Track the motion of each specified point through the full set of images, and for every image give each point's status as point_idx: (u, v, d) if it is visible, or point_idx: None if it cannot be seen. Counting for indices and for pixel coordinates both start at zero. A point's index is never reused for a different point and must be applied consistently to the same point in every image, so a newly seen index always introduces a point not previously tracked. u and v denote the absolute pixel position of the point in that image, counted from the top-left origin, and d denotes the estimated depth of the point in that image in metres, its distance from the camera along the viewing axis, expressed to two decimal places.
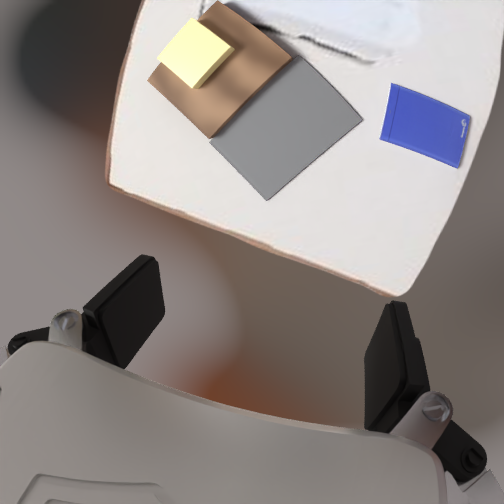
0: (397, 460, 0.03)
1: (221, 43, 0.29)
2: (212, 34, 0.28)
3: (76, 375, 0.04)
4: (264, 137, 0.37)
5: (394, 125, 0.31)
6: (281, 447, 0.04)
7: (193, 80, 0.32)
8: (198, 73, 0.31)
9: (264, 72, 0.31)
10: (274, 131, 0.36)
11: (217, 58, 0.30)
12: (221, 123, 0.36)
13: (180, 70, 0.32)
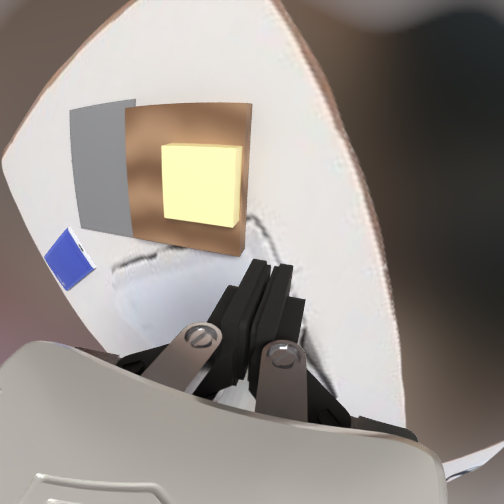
0: (397, 460, 0.03)
1: (174, 215, 0.29)
2: (191, 219, 0.28)
3: (76, 375, 0.04)
4: (103, 150, 0.32)
5: (70, 245, 0.40)
6: (281, 447, 0.04)
7: (167, 155, 0.26)
8: (167, 166, 0.26)
9: (135, 208, 0.32)
10: (102, 163, 0.32)
11: (164, 196, 0.28)
12: (126, 132, 0.28)
13: (189, 154, 0.25)
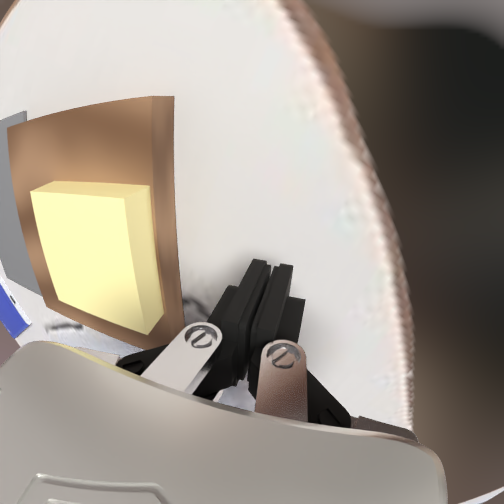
0: (397, 460, 0.03)
1: (68, 300, 0.16)
2: (89, 311, 0.15)
3: (76, 375, 0.04)
4: (4, 186, 0.18)
5: (2, 295, 0.27)
6: (280, 447, 0.04)
7: (38, 208, 0.13)
8: (42, 226, 0.13)
9: (38, 271, 0.19)
10: (6, 203, 0.19)
11: (50, 271, 0.15)
12: (10, 164, 0.15)
13: (61, 207, 0.12)
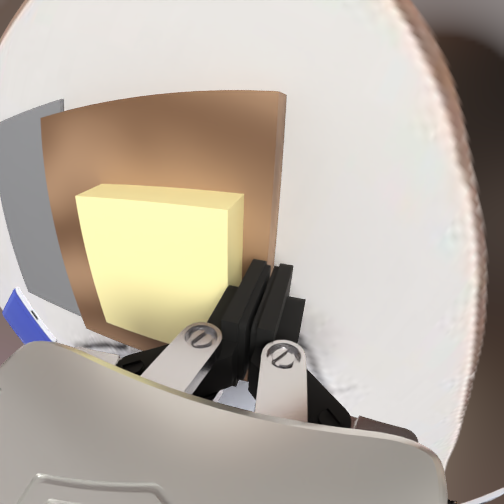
0: (397, 460, 0.03)
1: (121, 323, 0.14)
2: (150, 335, 0.14)
3: (76, 375, 0.04)
4: (30, 189, 0.17)
5: (22, 310, 0.26)
6: (281, 448, 0.04)
7: (86, 216, 0.12)
8: (92, 239, 0.12)
9: (79, 290, 0.18)
10: (31, 209, 0.18)
11: (98, 290, 0.14)
12: (45, 162, 0.13)
13: (124, 217, 0.11)
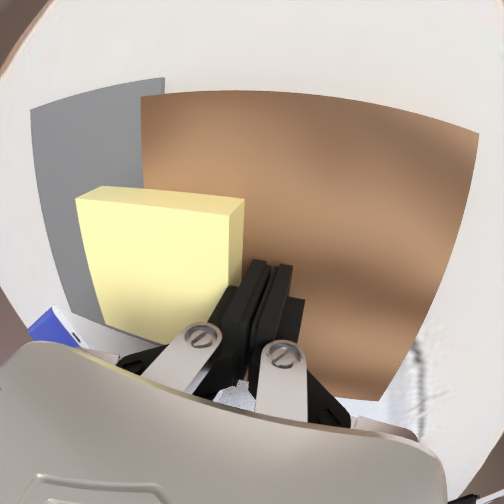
0: (397, 460, 0.03)
1: (120, 325, 0.14)
2: (149, 337, 0.14)
3: (76, 375, 0.04)
4: None
5: (59, 331, 0.24)
6: (281, 447, 0.04)
7: (86, 219, 0.12)
8: (92, 241, 0.12)
9: None
10: None
11: (97, 292, 0.14)
12: (145, 158, 0.12)
13: (125, 220, 0.11)
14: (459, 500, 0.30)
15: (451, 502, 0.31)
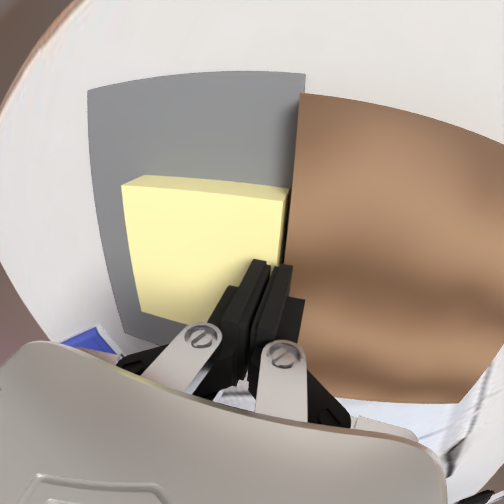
0: (397, 460, 0.03)
1: (158, 311, 0.16)
2: (189, 322, 0.15)
3: (76, 375, 0.04)
4: None
5: None
6: (281, 447, 0.04)
7: (133, 205, 0.13)
8: (136, 227, 0.13)
9: None
10: None
11: (136, 279, 0.15)
12: (298, 168, 0.10)
13: (177, 206, 0.12)
14: (476, 496, 0.29)
15: (468, 498, 0.30)
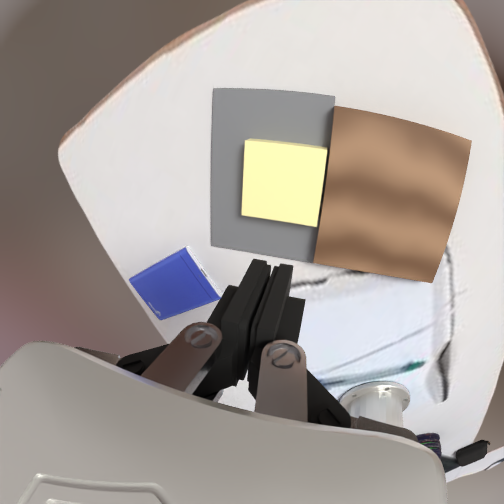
0: (397, 460, 0.03)
1: (254, 213, 0.29)
2: (272, 217, 0.28)
3: (76, 375, 0.04)
4: None
5: (187, 269, 0.36)
6: (281, 447, 0.04)
7: (251, 151, 0.26)
8: (251, 162, 0.26)
9: (328, 229, 0.28)
10: None
11: (243, 193, 0.28)
12: (333, 136, 0.24)
13: (277, 151, 0.25)
14: (472, 445, 0.43)
15: (465, 447, 0.44)
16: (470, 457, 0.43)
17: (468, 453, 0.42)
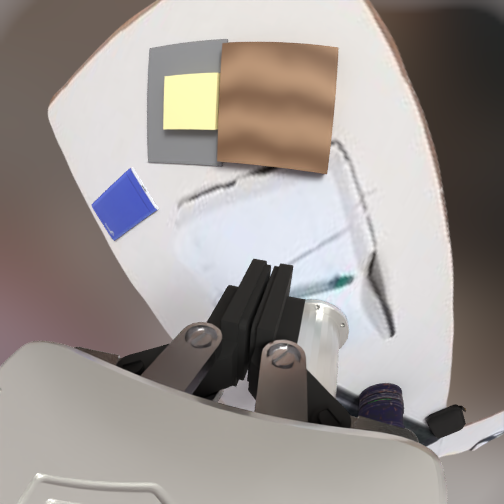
0: (397, 460, 0.03)
1: (171, 126, 0.35)
2: (184, 127, 0.34)
3: (76, 375, 0.04)
4: None
5: (131, 186, 0.42)
6: (281, 447, 0.04)
7: (168, 82, 0.32)
8: (168, 90, 0.32)
9: (224, 131, 0.34)
10: None
11: (164, 113, 0.34)
12: (222, 63, 0.30)
13: (184, 79, 0.31)
14: (444, 410, 0.49)
15: (436, 412, 0.50)
16: (444, 425, 0.49)
17: (440, 419, 0.48)
